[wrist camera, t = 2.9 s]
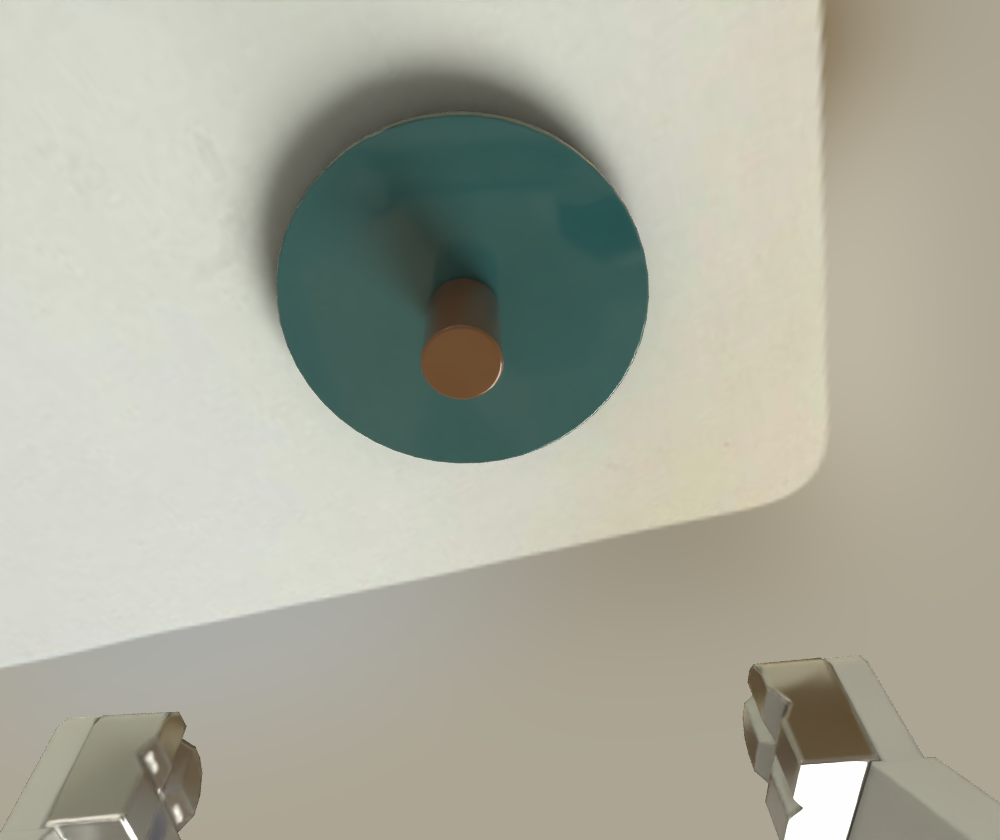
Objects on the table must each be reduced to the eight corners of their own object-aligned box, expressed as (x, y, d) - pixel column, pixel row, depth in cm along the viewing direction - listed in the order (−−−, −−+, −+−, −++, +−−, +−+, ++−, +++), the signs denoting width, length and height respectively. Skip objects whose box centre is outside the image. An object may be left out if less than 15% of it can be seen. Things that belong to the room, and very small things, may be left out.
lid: (647, 92, 21) (688, 122, 17) (637, 433, 27) (665, 516, 23) (245, 122, 21) (191, 161, 17) (321, 455, 27) (294, 542, 23)
